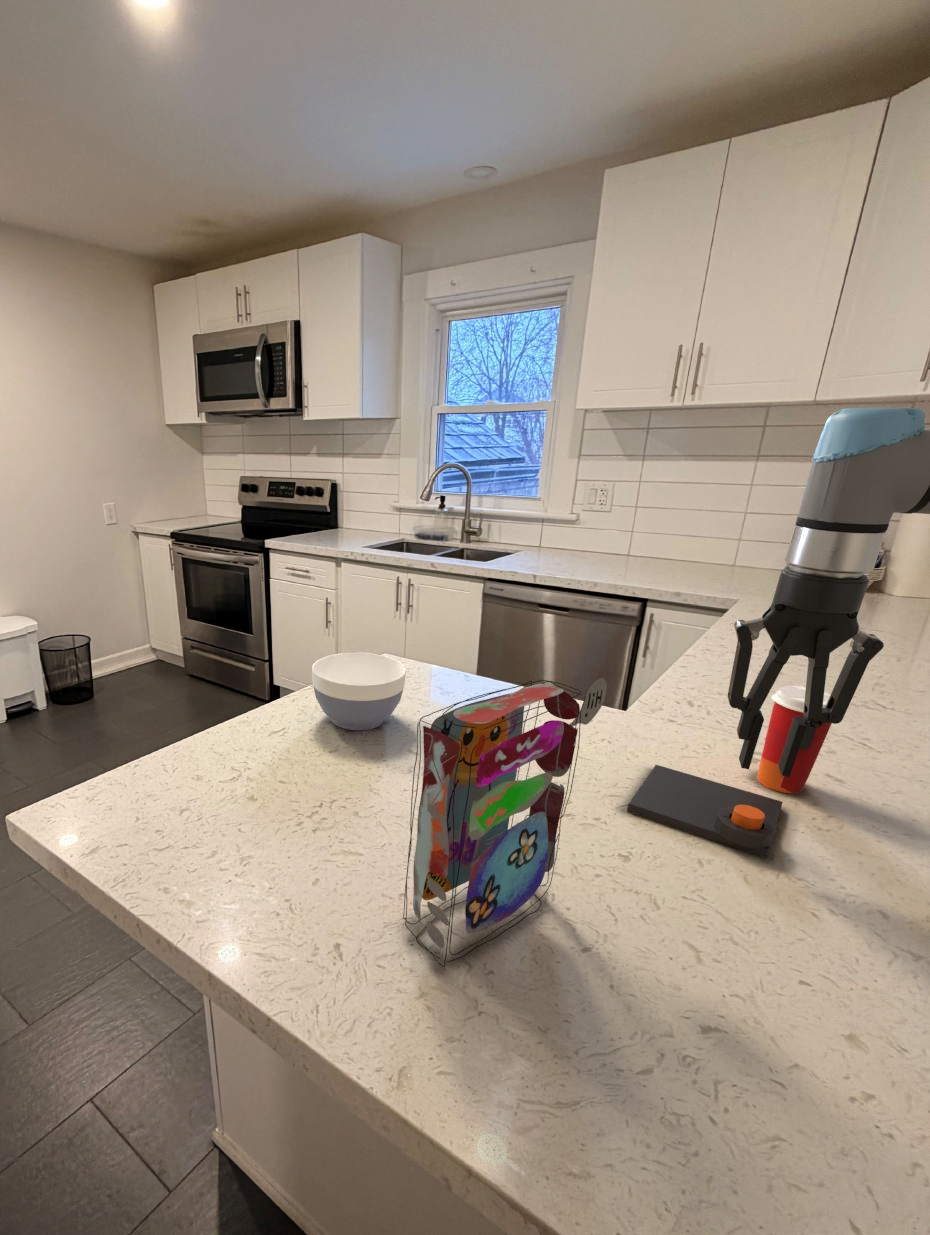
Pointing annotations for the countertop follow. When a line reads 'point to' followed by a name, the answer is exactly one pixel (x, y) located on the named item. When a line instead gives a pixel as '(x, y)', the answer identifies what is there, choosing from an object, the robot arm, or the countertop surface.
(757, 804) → the scale
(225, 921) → the countertop surface
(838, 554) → the robot arm
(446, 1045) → the countertop surface
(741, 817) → the tare button
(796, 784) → the paper cup
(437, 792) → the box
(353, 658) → the bowl
